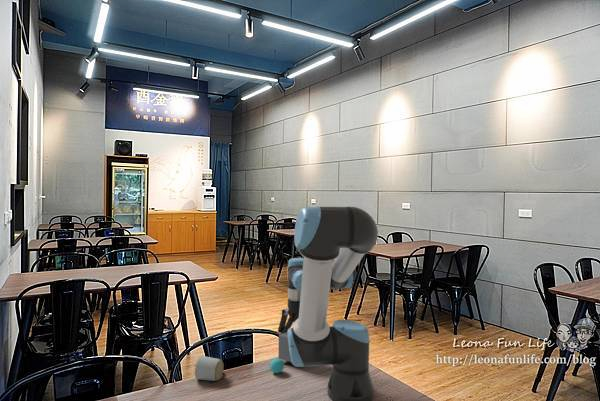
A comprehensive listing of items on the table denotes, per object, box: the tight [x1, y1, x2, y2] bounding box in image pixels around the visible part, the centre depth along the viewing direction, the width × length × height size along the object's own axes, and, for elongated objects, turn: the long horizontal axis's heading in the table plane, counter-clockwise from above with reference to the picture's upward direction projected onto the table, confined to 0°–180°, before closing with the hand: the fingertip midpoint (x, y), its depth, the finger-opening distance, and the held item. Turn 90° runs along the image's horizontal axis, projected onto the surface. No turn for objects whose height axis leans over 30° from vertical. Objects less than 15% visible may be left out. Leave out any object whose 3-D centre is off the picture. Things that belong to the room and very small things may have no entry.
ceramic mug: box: [194, 355, 225, 382], centre depth 141 cm, size 11×8×8 cm
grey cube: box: [278, 332, 292, 363], centre depth 155 cm, size 10×10×9 cm
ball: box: [269, 358, 285, 374], centre depth 145 cm, size 5×5×5 cm
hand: (296, 355), depth 155 cm, fingers closed on grey cube, 10 cm apart
